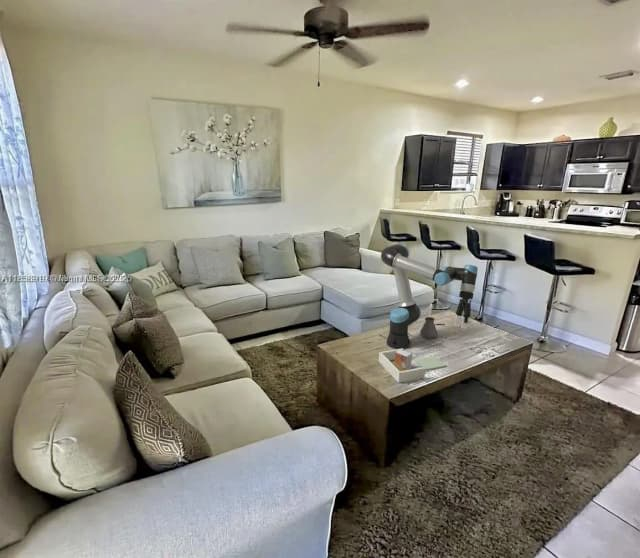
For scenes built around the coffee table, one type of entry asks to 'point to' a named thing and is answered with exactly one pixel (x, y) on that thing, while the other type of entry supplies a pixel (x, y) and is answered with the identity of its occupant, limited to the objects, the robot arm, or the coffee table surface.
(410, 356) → the small box
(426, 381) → the coffee table surface
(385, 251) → the robot arm
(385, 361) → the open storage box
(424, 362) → the sage pad
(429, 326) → the coffee pot
